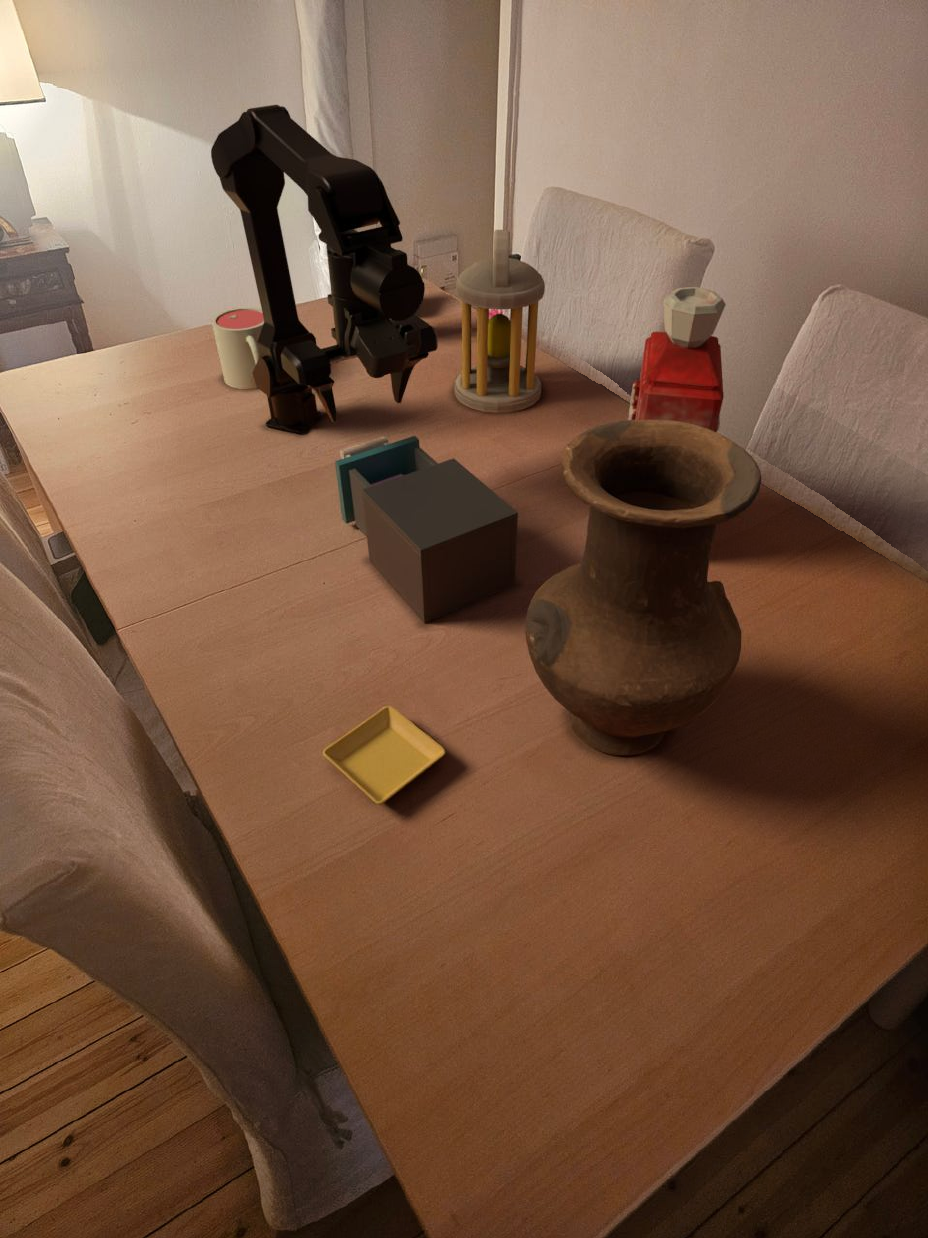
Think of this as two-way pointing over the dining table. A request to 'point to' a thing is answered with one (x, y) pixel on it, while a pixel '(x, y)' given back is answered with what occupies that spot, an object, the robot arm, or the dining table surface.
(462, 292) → the lantern
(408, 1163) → the dining table surface
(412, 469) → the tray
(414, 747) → the yellow square dish
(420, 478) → the dark grey box-shaped block
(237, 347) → the mug
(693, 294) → the bottle
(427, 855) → the dining table surface
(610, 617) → the vase
